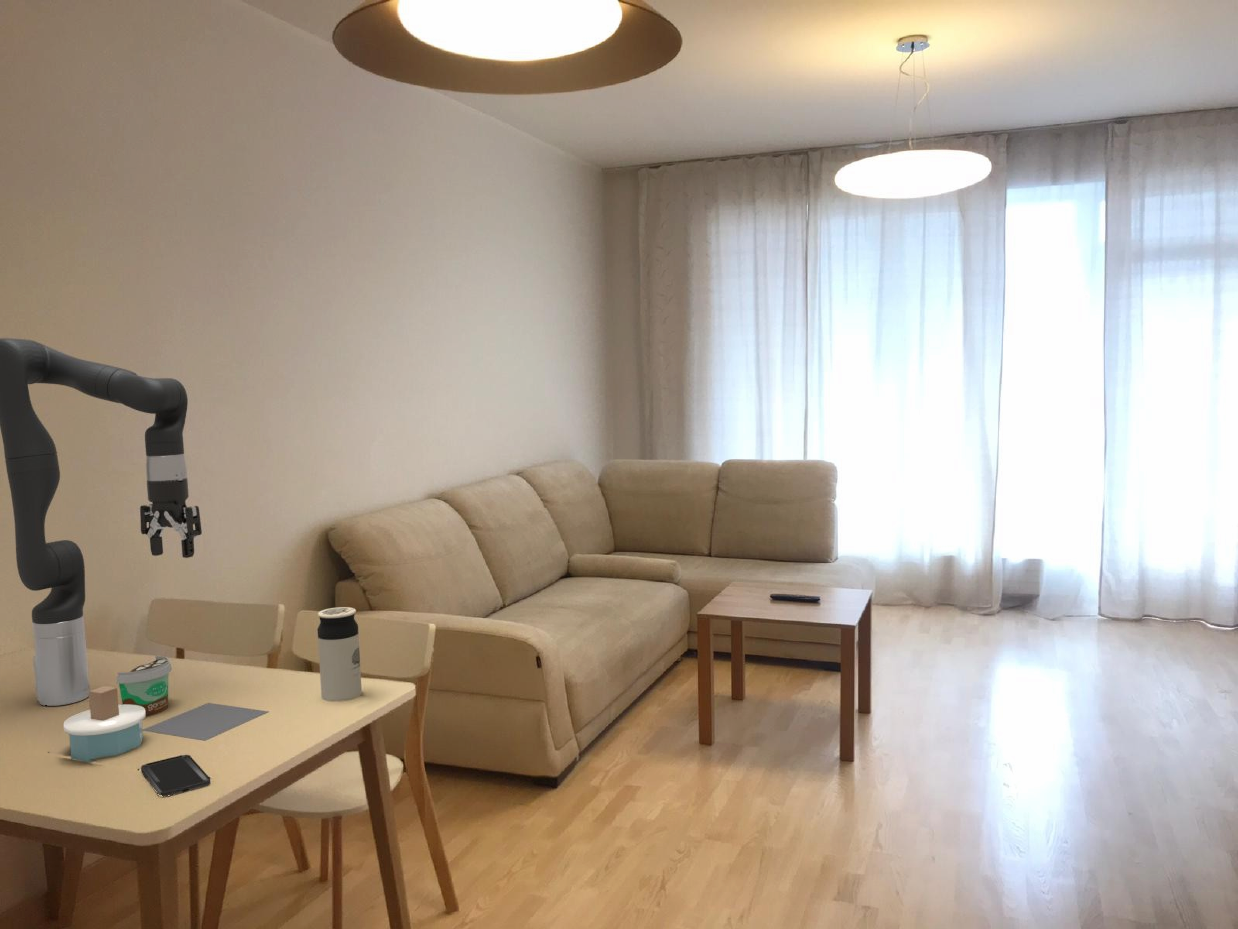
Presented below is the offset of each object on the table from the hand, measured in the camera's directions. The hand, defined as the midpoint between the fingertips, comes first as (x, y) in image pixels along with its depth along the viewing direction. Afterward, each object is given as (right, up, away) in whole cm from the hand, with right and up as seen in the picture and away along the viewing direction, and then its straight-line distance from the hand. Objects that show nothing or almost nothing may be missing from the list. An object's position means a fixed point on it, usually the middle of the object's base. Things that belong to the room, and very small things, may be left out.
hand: (172, 556), depth 199 cm
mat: (+12, -31, -12) cm, 35 cm away
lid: (-1, -28, -24) cm, 37 cm away
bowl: (-1, -33, -24) cm, 40 cm away
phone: (+17, -34, -37) cm, 53 cm away
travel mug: (+34, -29, +1) cm, 45 cm away
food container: (-1, -31, -5) cm, 31 cm away
